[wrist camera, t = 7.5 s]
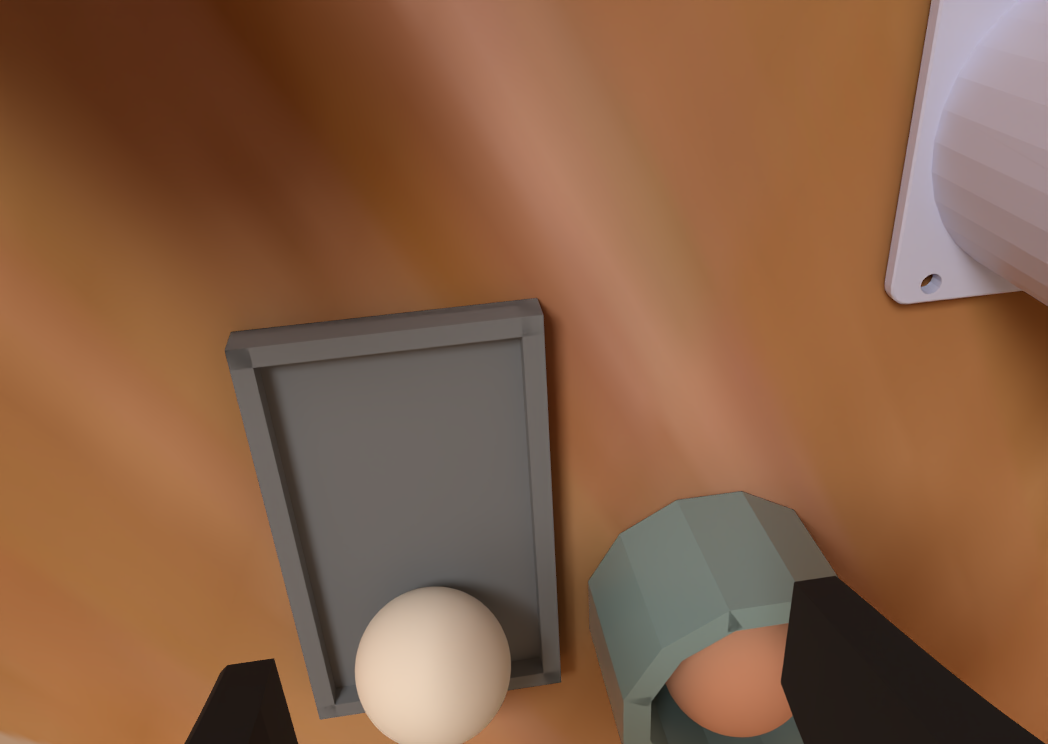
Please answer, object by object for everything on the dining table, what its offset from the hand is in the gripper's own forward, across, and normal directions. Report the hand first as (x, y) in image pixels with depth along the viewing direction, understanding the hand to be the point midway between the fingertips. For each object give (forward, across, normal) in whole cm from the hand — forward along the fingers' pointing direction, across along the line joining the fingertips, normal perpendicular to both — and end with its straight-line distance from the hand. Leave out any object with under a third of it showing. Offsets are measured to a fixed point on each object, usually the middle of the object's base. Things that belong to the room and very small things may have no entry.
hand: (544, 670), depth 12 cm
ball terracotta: (+9, -6, +9) cm, 14 cm away
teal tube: (+10, -6, +9) cm, 15 cm away
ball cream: (+10, +2, +8) cm, 13 cm away
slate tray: (+10, +2, +5) cm, 11 cm away
